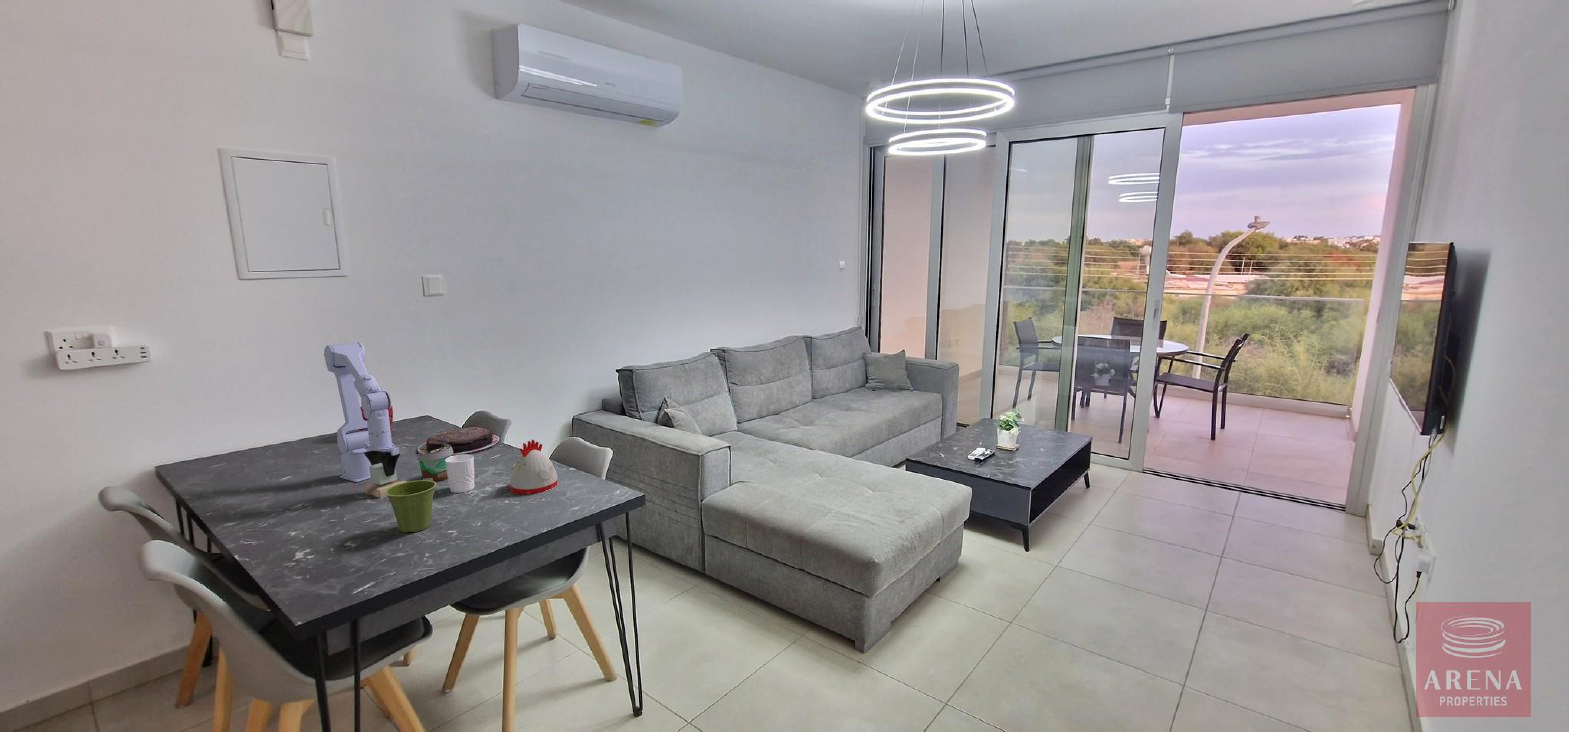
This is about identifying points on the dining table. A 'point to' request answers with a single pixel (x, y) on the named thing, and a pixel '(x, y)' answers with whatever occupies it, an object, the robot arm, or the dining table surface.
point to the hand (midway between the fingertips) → (384, 473)
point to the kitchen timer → (532, 471)
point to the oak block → (380, 488)
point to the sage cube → (380, 474)
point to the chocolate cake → (461, 440)
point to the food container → (435, 463)
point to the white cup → (460, 472)
